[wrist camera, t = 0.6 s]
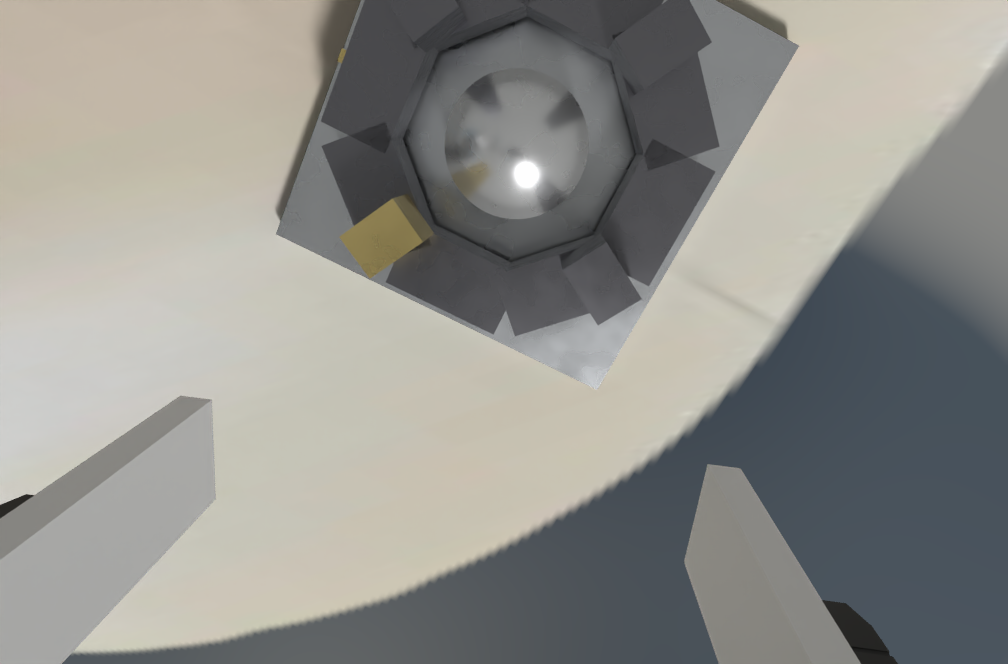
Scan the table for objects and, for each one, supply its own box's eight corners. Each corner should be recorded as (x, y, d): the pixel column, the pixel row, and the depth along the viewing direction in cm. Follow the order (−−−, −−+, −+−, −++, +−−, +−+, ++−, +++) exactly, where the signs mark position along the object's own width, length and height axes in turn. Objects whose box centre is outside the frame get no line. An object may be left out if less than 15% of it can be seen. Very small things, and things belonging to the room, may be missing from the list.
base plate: (283, 231, 35) (247, 243, 31) (424, -152, 29) (403, -204, 25) (595, 383, 37) (602, 414, 33) (791, 49, 31) (831, 32, 27)
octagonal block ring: (299, 225, 34) (253, 239, 28) (430, -127, 28) (404, -190, 23) (589, 367, 35) (597, 405, 30) (767, 56, 30) (815, 36, 24)
